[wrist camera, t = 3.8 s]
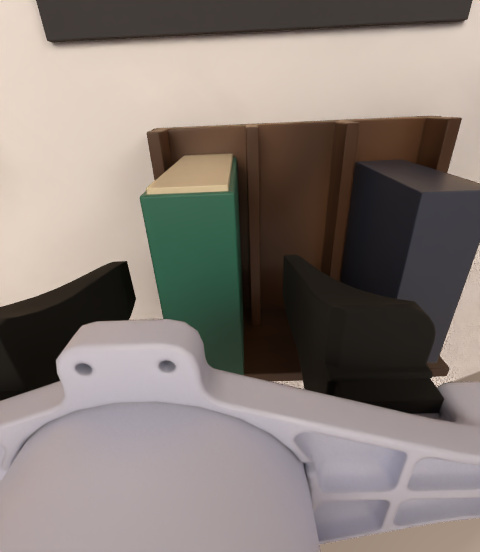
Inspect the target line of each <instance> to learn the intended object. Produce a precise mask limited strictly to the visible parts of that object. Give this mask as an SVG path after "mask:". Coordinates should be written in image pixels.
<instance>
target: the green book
mask: <svg viewBox="0 0 480 552" xmlns="http://www.w3.org/2000/svg"><path fill="white" fill-rule="evenodd" d="M140 202H141V207H142V212H143V217H144V222H145V227H146V233H147V238H148V243H149V248H150V253H151V258H152V263H153V268H154V273H155V278H156V283H157V288H158V293H159V299H160V304H161V309H162V314H163V319H171V320H177V321H182V322H185V323H187V324H188V325H190V326H191V327H193V328H194V329H196V330H197V331H198V333H199V335H200V337H201V339H202V341H203V344H204V352H205V358H206V361H207V363H208V365H209V366H211V367H212V368H214V369H218V370H222V371H226V372H231V373H235V374H240V375H244V338H243V289H242V266H241V243H240V220H239V197H238V173H237V158H236V157H233V154H232V153H231V154H208V155H185V156H183V157H182V158H181V159H180V160H179V161H177V162H176V163H175V164H174V165H173V166H172V167H170V168H169V169H168V170H167V171H166V172H165V173H163V174H162V175H161V176H160V177H159V178H158V179H156V180H155V181H154V182H153V183H152V184H151V185H149V186H148V187H147V188H146V192H145V193H143V194H142V195H141V196H140Z"/></svg>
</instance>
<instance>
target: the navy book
mask: <svg viewBox="0 0 480 552" xmlns="http://www.w3.org/2000/svg"><path fill="white" fill-rule="evenodd" d="M479 243H480V184H479V183H476V182H473V181H470V180H467V179H464V178H460V177H457V176H454V175H451V174H448V173H445V172H441V171H438V170H435V169H432V168H429V167H425V166H422V165H419V164H416V163H413V162H410V161H406V160H403V159H402V160H378V161H356V162H355V169H354V177H353V184H352V192H351V199H350V207H349V215H348V222H347V230H346V237H345V245H344V253H343V260H342V268H341V276H340V282H341V283H344V284H346V285H348V286H351V287H353V288H356V289H359V290H362V291H365V292H368V293H372V294H375V295H380V296H384V297H389V298H395V299H401V300H408V301H415V302H416V303H417V304H418V305H419V306H420V307H421V308H422V309H423V311H424V312H425V313H426V314H427V315H428V316H429V317H430V319H431V320H432V322H433V323H434V326H435V331H436V334H435V340H434V344H433V347H432V350H431V353H430V356H429V359H428V362H427V363H437V361H438V358H439V355H440V352H441V349H442V347H443V344H444V341H445V338H446V335H447V333H448V330H449V327H450V324H451V321H452V319H453V316H454V313H455V310H456V307H457V305H458V302H459V299H460V296H461V293H462V291H463V288H464V285H465V282H466V279H467V276H468V274H469V271H470V268H471V265H472V262H473V260H474V257H475V254H476V251H477V248H478V246H479Z"/></svg>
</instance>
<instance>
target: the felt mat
mask: <svg viewBox="0 0 480 552" xmlns="http://www.w3.org/2000/svg"><path fill="white" fill-rule="evenodd" d="M36 1H37V5H38V9H39V12H40V16H41V19H42V23H43V27H44V30H45V34H46V38H47V41H50V42H66V41H86V40H105V39H125V38H144V37H164V36H183V35H203V34H223V33H242V32H262V31H281V30H301V29H320V28H340V27H359V26H379V25H399V24H418V23H438V22H457V21H464V20H467V19H468V16H469V12H470V8H471V4H472V0H36Z"/></svg>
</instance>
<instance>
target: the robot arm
mask: <svg viewBox="0 0 480 552" xmlns="http://www.w3.org/2000/svg"><path fill="white" fill-rule="evenodd" d="M135 300H136V297H135V293H134V289H133V285H132V281H131V276H130V272H129V268H128V264H127V261H122V262H112V263H109V264H106V265H104V266H102V267H100V268H98V269H96V270H94V271H92V272H90V273H88V274H86V275H84V276H82V277H80V278H78V279H76V280H74V281H72V282H70V283H68V284H65V285H63V286H61V287H59V288H57V289H54V290H52V291H49V292H47V293H44V294H42V295H39V296H36V297H33V298H30V299H27V300H23V301H20V302H17V303H14V304H10V305H6V306H2V307H0V552H321V550H320V545H319V544H325V543H330V542H336V541H341V540H346V539H352V538H357V537H362V536H367V535H373V534H379V533H384V532H390V531H395V530H400V529H406V528H411V527H417V526H423V525H429V524H435V523H441V522H447V521H457V520H467V519H476V518H480V381H476V382H448V383H444V384H442V385H440V386H438V388H436V386H435V385H434V383H433V382H432V381H431V379H430V378H432V376H433V373H432V371H431V370H430V368H429V367H428V365H427V362H428V359H429V356H430V353H431V350H432V347H433V344H434V340H435V334H436V331H435V326H434V323H433V322H432V320H431V319H430V317H429V316H428V315H427V314H426V313H425V312H424V311H423V309H422V308H421V307H420V306H419V305H418V304H417V303H416V302H415V301H408V300H401V299H395V298H389V297H384V296H380V295H375V294H372V293H368V292H365V291H362V290H359V289H356V288H353V287H351V286H348V285H346V284H344V283H341V282H339V281H337V280H335V279H333V278H331V277H330V276H328V275H326V274H325V273H323V272H321V271H320V270H318V269H317V268H315V267H314V266H313V265H311V264H310V263H308V262H307V261H306V260H304V259H303V258H302V257H300V256H298V255H284V263H283V300H284V306H285V312H286V315H287V318H288V321H289V325H290V328H291V331H292V334H293V337H294V341H295V344H296V347H297V351H298V355H299V361H300V366H301V371H302V377H303V383H304V389H301V388H296V387H292V386H288V385H283V384H279V383H274V382H270V381H266V380H261V379H257V378H253V377H248V376H244V375H240V374H235V373H231V372H226V371H222V370H218V369H214V368H212V367H211V366H209V365H208V363H207V361H206V358H205V352H204V344H203V341H202V339H201V337H200V335H199V333H198V331H197V330H196V329H194V328H193V327H191V326H190V325H188V324H187V323H185V322H182V321H177V320H171V319H152V320H129V318H130V316H131V313H132V310H133V307H134V304H135Z"/></svg>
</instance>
